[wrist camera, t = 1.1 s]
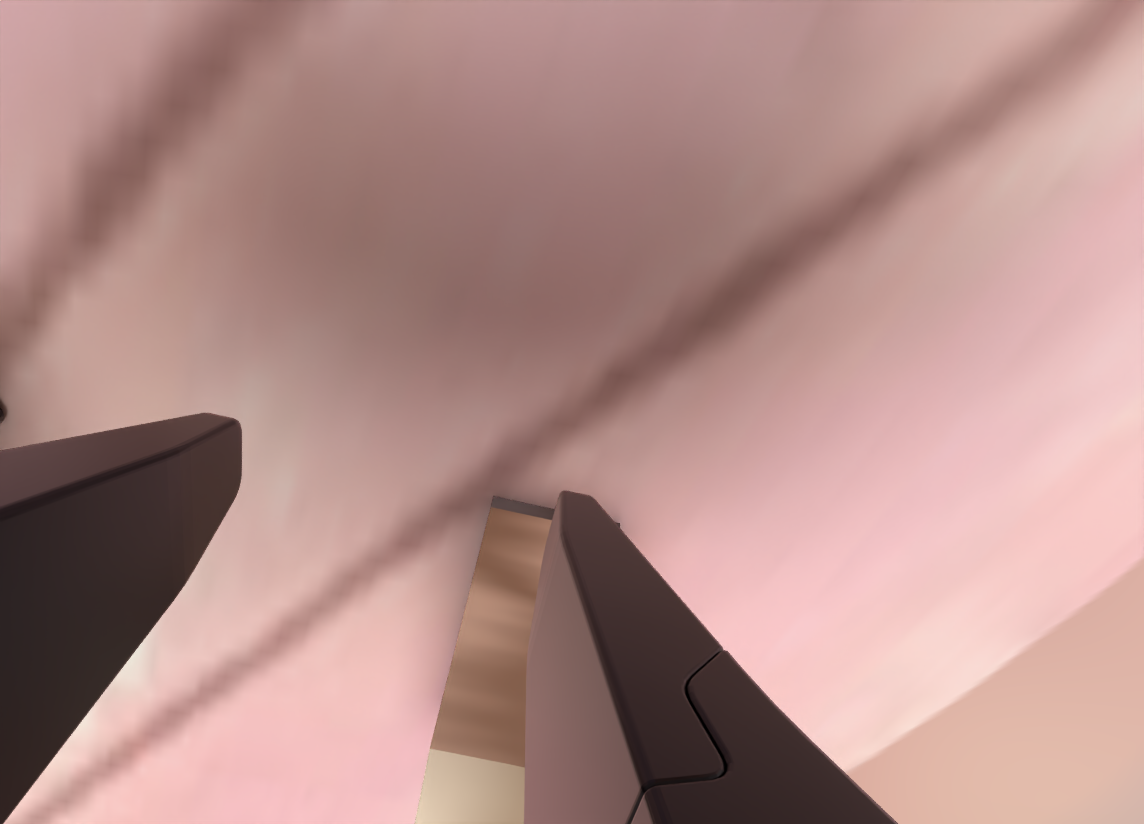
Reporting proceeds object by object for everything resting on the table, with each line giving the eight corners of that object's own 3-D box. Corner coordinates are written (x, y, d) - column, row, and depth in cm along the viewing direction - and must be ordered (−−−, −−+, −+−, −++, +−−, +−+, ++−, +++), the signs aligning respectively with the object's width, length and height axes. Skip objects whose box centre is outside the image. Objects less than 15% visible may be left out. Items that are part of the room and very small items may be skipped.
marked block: (449, 705, 30) (384, 974, 22) (493, 495, 25) (430, 748, 17) (554, 727, 30) (526, 1000, 22) (620, 522, 25) (613, 785, 17)
